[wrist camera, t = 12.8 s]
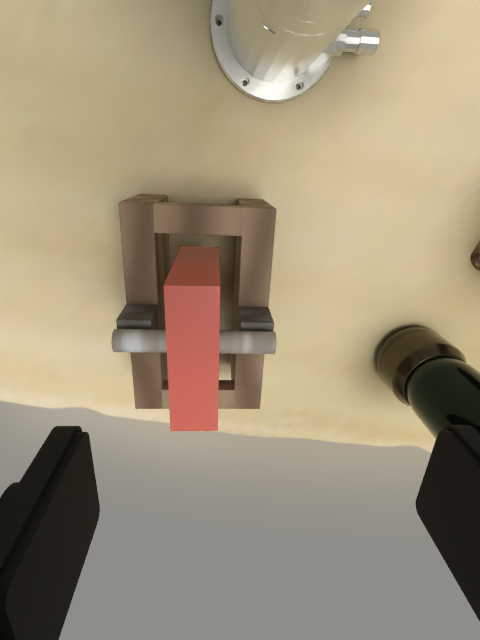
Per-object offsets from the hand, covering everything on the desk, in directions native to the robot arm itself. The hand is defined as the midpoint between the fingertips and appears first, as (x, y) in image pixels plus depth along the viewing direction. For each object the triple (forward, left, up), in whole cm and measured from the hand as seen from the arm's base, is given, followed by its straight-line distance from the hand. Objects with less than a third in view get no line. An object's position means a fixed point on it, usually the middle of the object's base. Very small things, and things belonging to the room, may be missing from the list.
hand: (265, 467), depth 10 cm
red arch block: (+3, +7, -30) cm, 31 cm away
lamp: (-26, +16, -36) cm, 48 cm away
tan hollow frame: (+3, +7, -36) cm, 37 cm away
